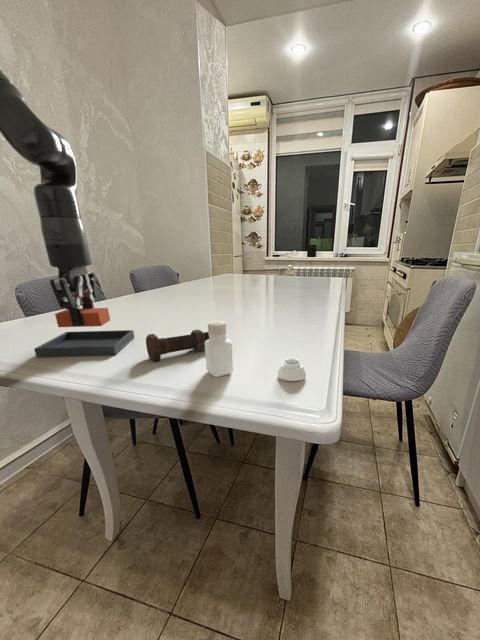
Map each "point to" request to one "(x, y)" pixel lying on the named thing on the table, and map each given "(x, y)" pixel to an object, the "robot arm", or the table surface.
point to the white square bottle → (218, 350)
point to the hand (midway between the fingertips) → (84, 321)
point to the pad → (84, 317)
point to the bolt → (175, 344)
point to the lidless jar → (291, 370)
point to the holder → (85, 343)
